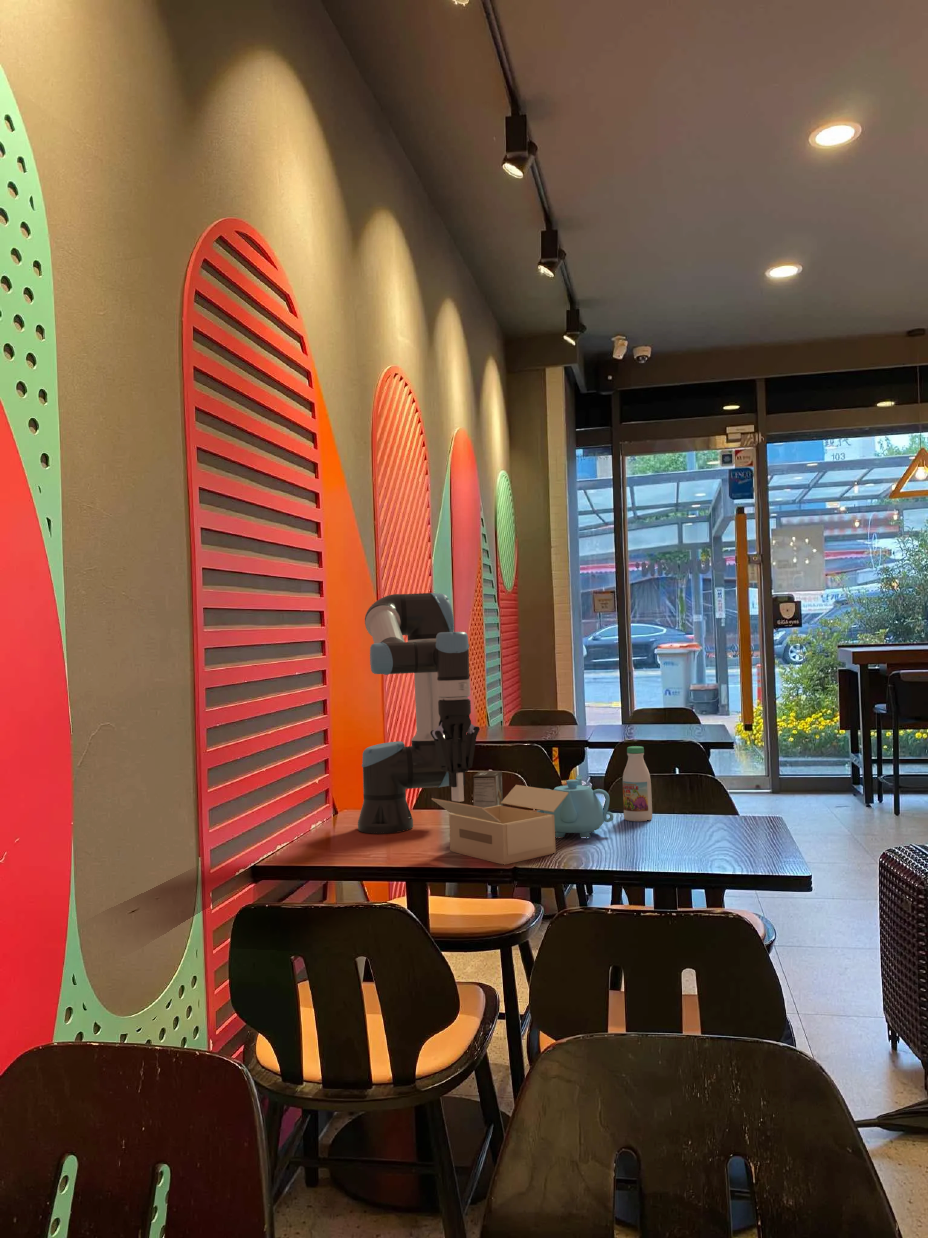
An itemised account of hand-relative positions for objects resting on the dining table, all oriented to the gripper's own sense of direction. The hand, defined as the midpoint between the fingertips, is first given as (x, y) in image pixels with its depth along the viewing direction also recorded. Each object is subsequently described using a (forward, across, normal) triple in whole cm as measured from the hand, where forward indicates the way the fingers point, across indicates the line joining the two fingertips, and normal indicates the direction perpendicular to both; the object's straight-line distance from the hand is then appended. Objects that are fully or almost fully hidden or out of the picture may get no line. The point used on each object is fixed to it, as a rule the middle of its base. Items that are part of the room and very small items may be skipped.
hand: (457, 800), depth 218 cm
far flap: (+4, +21, 0) cm, 21 cm away
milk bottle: (+14, +65, +3) cm, 67 cm away
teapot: (+14, +39, +2) cm, 41 cm away
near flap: (+4, +5, 0) cm, 7 cm away
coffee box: (+14, +24, +18) cm, 33 cm away
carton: (+14, +13, 0) cm, 19 cm away
